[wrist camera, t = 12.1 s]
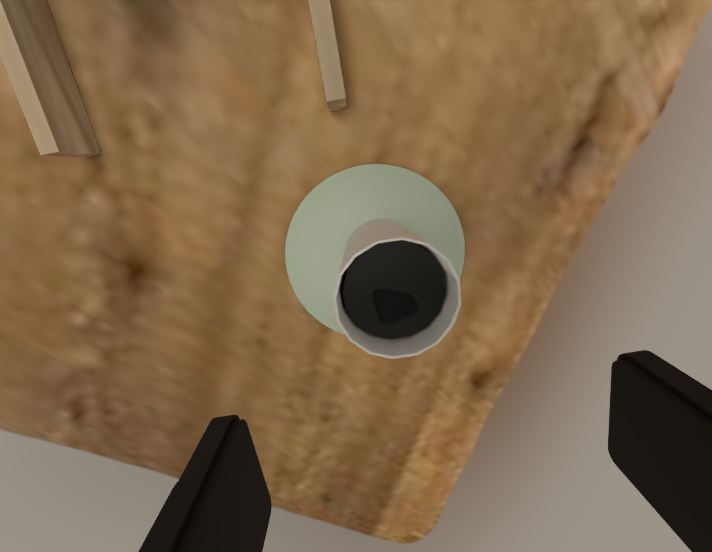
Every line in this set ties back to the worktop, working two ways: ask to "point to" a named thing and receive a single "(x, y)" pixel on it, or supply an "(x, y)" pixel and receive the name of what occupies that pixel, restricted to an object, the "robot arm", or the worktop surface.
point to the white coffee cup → (395, 291)
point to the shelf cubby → (60, 93)
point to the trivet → (352, 209)
